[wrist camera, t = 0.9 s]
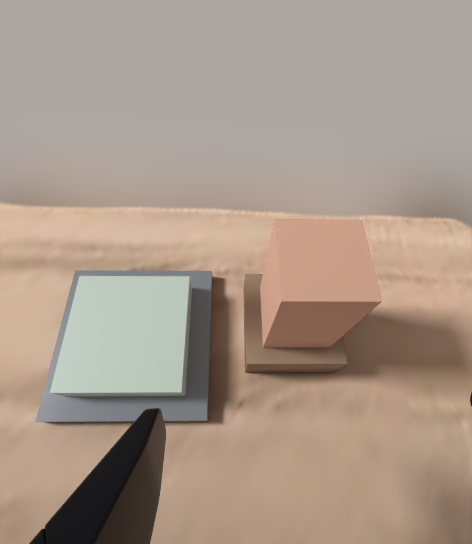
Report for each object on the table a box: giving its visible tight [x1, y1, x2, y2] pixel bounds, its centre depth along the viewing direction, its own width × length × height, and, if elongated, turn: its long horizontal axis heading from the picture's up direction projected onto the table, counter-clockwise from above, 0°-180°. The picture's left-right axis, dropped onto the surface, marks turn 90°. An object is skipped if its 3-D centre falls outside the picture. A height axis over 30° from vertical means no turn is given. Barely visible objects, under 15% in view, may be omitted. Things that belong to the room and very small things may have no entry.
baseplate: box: [36, 271, 212, 422], centre depth 23 cm, size 11×11×1 cm
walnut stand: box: [244, 274, 348, 372], centre depth 23 cm, size 6×6×3 cm
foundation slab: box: [50, 276, 192, 397], centre depth 22 cm, size 8×8×2 cm
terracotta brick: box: [260, 219, 382, 348], centre depth 18 cm, size 4×4×8 cm
